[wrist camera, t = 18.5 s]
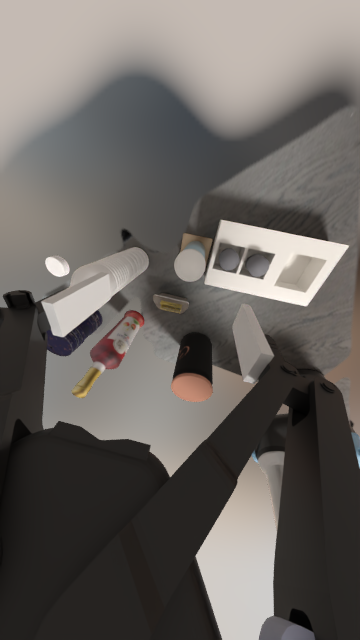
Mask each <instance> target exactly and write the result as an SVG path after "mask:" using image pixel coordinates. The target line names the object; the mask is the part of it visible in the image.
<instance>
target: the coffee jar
mask: <svg viewBox="0 0 360 640" xmlns="http://www.w3.org/2000/svg"><path fill="white" fill-rule="evenodd" d="M171 388H172V391H173V392H174V394H175V395H177V396H178V397H180V398H181V399H183V400H187V401H192V402H199V401H204V400H207V399H208V398H209V397H210V396H211V395H212V393H213V390H212V344H211V341H210V340H209V339H208V338H207V337H206V336H205V335H203V334H200V333H191V334H188V335H186V336H185V337H184V338H183V339H182V341H181V345H180V349H179V353H178V358H177V362H176V366H175V371H174V375H173V381H172V384H171Z"/></svg>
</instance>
